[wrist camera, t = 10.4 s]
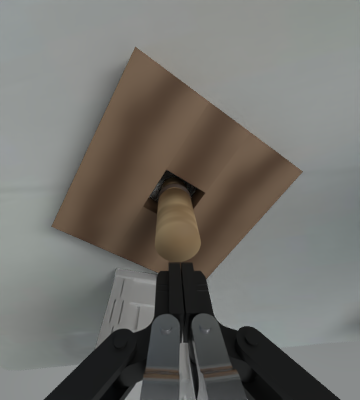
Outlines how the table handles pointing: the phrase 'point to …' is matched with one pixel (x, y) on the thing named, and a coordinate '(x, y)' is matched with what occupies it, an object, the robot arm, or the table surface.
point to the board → (175, 163)
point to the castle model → (139, 319)
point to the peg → (176, 223)
